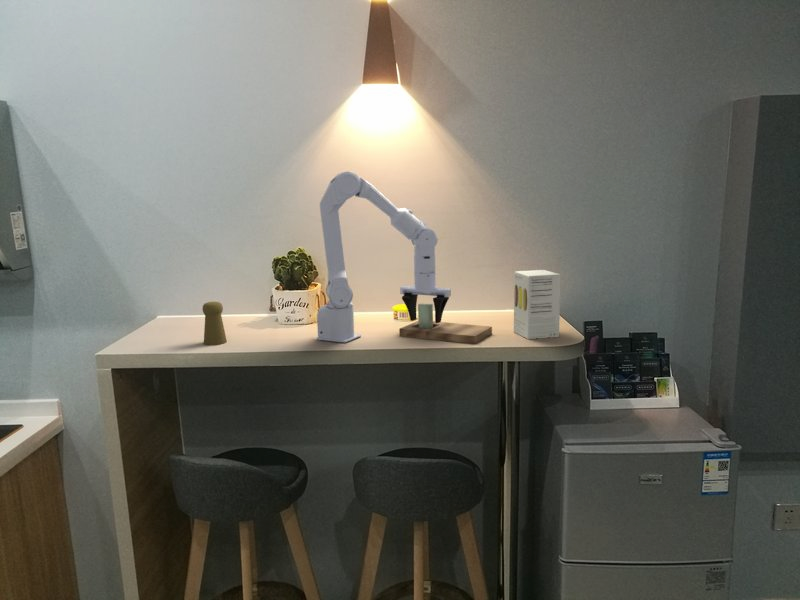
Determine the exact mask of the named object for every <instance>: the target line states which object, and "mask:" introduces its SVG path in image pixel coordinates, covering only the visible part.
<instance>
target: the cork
mask: <svg viewBox="0 0 800 600" xmlns="http://www.w3.org/2000/svg"><path fill="white" fill-rule="evenodd" d="M223 311H224V308H223V304H222V303H221V302H220V301H208V302H205V303H204V304H203V305H202V314H203V315H204V332H203V345H205V346H219V345H224V344H226V343H227V336H226V332H225V331H226V330H225V326H224V322H223V317H222V314H223Z"/></svg>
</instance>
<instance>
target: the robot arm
mask: <svg viewBox="0 0 800 600" xmlns="http://www.w3.org/2000/svg"><path fill="white" fill-rule="evenodd" d="M354 196H355V197H357V198H361V199H366V200H367V201H369V203H371V204H373V205H374V206H375V207H376V208H377V209H379V210H380V211H381V212H382V213H384V214H385V215H386V216H388V217H389V219H390V225H391V226H392V227H393V228H395V229H396V230H397V231H398V232H399V233H400V234H402V235H403V236H404V237H405V238H406V239H408V240H410V241H411V243H412V245H413V246H414V247H413V252H414V253H413V254H414V255H413V268H414V273H413V277H414V285H413V286H412V285H411V286H409V285H404V286H399V288H400V289H399V292H400V295H402V296H401V300H402V301H403V303H404V306H405V307H406V309H407V312H408V315H409V320H410V321H411V322H413V321H417V320H416V319H417V305H418V303H417V302H418V297H419V295H420V296H431V297H433V296H434V297H433V298H432V301H433V307H434V319H435V320H434V321H435V322H436V323H439V322H442V317H443V313H444V310H445V308H446V305H447V303H448V301H449V298H450V297H451V296H452V289H451V288H444V287H438V286H436V285H437V284H436V282H437V281H436V251H435V247H436V246H437V244H438V242H439V241H438V240H439V239H438V238H437V234H436V233H435V231H434V230H433V229H430V228H428V227H427V223H426V222H425V221H421V220H420V219H418V218H417V217H416V216H415V215H414V214H413V213H414V211H413V210H412V209H410V208H409V209H407V208H406V207H402V208H400V207H399V208H398V207H397V206H396V205H394V203H392V202H391V201H390V200H389V198H387V197H386V196H384V195H383V193H382V192H380V191H379V190H378V189H377V188H376V187H375V186H374V185H373V184H371V183H370V182H368V180H365V179H364V178H362V177H359V175H358V174H356V172H353V171H350V170H349V171H344V172H340V173H338V174H336V175H335V177H333V178H332V179H331V180H330V181H329V182H328V186H327V188H326V190H325V191H324V193H323V196H322V197H321V199H320V202H319V212H320V218H321V219H320V220H321V227H322V234H323V235H322V236H323V244H324V250H325V257H326V258H325V259H326V267H327V285H326V288H325V292H326V293H325V294H326V297H328V301H327V303H325V304H323V305H321V306H320V307H319V308H318V310H317V314H316V320H317V321H316V323H317V326H316V327H317V337H316V338H315V340H316V341H317V340H320V341H327V342H335V343H342V344H343V343H348V342H351V341H353V340H356V339H359V338H361V336H362V335H361V334H357V333H355V319H354V317H355V316H354V303H353V302H352V301H353V299H354V292H353V290H352V288H351V287H350V285H349V282H348V276H347V271H346V263H345V257H344V256H345V255H344V247H343V240H342V231H341V225H340V222H341V221H340V213H339V210H340V209H341V207H342V206H344V204H345V203H346V201H348V200H349V199H351V198H353V197H354Z"/></svg>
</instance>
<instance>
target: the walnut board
mask: <svg viewBox="0 0 800 600" xmlns="http://www.w3.org/2000/svg"><path fill="white" fill-rule="evenodd" d="M398 331H399V337H407V338H417V339H426V340H436V341H444V342H456V343H464V344H472V345H473V344H477V343H479V342H480V341H482V340H484V339H486V338H487V337H489V336H491V335H492V334H493V326H491V325H490V326H488V325H479V324H477V325H476V324H467V323H465V324H464V323H457V322H456V323H455V322H446V321H445V322H443V321H441V322H439V323H436V322H435V320H433V328H432V329H425V328H419V325H418V320H415V321H414V322H412V323H410V324H407V325H405V326H402V327H400V328H399V330H398Z"/></svg>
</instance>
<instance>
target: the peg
mask: <svg viewBox="0 0 800 600" xmlns="http://www.w3.org/2000/svg"><path fill="white" fill-rule="evenodd" d="M433 307H434V303H431V302H427V303H426V302H425V303H424V302H423V303H417V312H418V313H417V314H418V315H417V316H418V319H417V321H418V325H419V328H425V329H432V328H433V321H434V309H433Z"/></svg>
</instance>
